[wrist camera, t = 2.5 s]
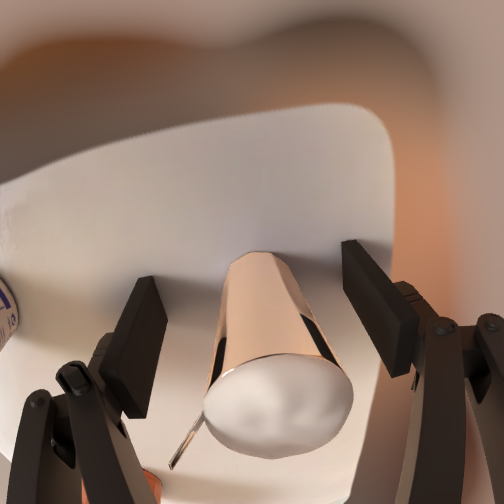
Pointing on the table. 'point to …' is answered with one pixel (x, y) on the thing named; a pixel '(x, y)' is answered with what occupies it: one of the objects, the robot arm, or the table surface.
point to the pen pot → (153, 483)
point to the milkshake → (270, 368)
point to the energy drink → (7, 315)
